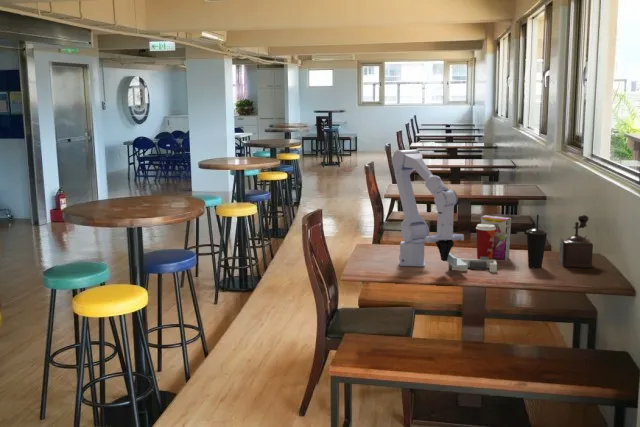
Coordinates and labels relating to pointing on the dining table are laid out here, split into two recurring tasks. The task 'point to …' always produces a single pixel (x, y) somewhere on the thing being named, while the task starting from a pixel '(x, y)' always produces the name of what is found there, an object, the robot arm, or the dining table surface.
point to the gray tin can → (478, 264)
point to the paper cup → (485, 240)
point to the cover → (455, 261)
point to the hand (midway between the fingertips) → (444, 260)
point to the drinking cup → (536, 246)
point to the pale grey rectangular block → (490, 263)
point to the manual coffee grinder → (576, 248)
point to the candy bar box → (499, 235)
